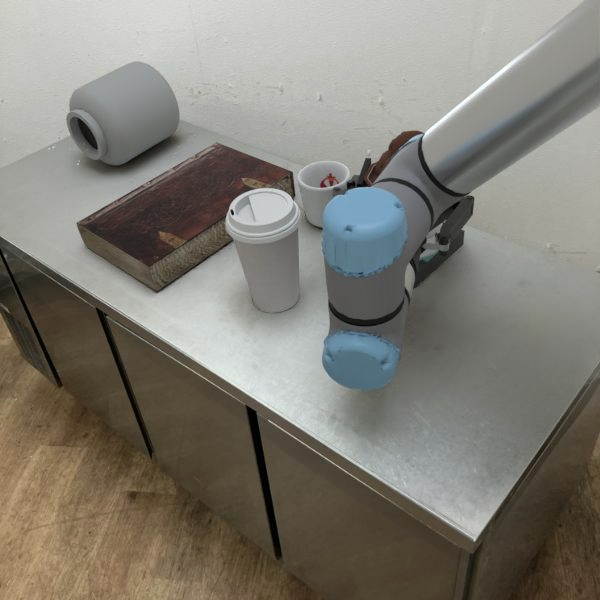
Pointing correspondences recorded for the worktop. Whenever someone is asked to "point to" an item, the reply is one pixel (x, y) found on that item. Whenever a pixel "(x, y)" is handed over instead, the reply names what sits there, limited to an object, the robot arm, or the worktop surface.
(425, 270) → the scale
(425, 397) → the worktop surface
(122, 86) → the jar
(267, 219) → the coffee cup
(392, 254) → the robot arm
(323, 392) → the worktop surface
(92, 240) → the hardback book
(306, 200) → the cup
